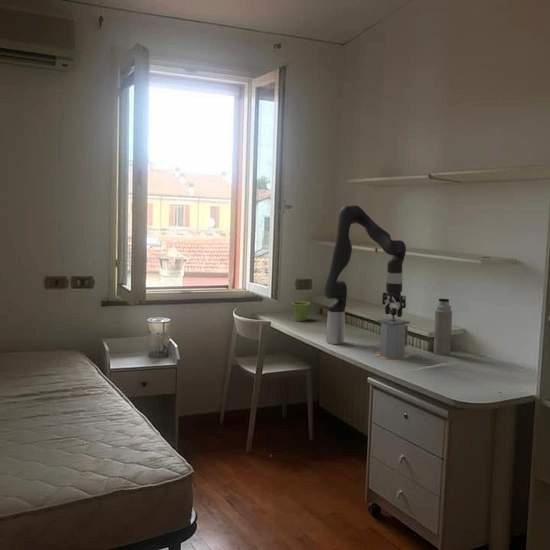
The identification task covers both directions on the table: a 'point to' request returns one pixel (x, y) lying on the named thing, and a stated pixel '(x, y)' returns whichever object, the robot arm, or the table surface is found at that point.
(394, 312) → the plunger
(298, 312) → the plant pot
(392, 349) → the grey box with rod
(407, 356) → the trivet
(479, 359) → the table surface
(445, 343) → the thermos bottle
